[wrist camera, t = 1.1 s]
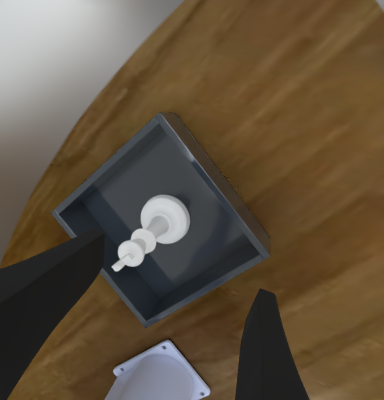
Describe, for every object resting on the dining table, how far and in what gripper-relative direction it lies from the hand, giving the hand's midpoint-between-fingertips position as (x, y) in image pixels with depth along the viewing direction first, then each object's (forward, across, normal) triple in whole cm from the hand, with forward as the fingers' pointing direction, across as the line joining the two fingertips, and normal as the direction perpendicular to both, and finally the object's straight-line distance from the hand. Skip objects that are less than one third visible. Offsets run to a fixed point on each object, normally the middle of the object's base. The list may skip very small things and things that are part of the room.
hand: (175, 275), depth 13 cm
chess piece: (+14, +5, +7) cm, 16 cm away
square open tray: (+14, +5, +7) cm, 16 cm away
